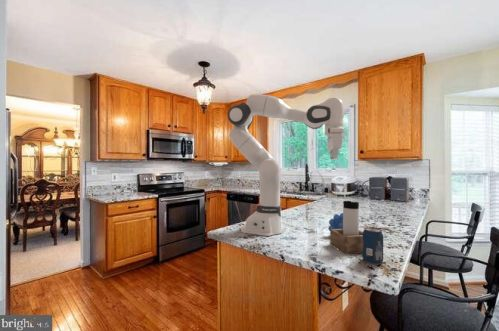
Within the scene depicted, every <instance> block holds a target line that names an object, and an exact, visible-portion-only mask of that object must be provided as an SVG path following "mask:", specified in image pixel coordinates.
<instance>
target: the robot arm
mask: <svg viewBox="0 0 499 331" xmlns="http://www.w3.org/2000/svg"><path fill="white" fill-rule="evenodd" d="M344 108H345V107H344V103H343V101H342V100H341V99H339V98H335V97H330V98H326V100H325V101H323V102H321V103H318V104H314V105H312V106H310V107H309V108H308V109H307V111H304V110H301V109H297V108H292V107H290V106H289V105H287V104H286V103H285V102H284V101H283V100H282V99H281V98H279V97H276V96H274V95H269V94H260V93H259V94H258V93H254V94H250V95H249V96H248V97H247V99H246V102H242V103H238V104H236V105H235V104H234V105H233V106H231V107H230V108H229V110H228V111H227V119H228V121H229V123H230V124H232V125H233V126H232V128H231V130H230V131H229V133H228V137H229V139H230V141H231V143H232V144H233V145H234V147H235V148H236V150H238V151H239V153H240V154H241V155H242V156H243V157H244V158H245V159H246V161H248V162H249V163H250V164H251V165H252V166H253V167H255V169H256V170H257V171H258V176H259V203H257V204H256V205H255V211H254V212H253V213H252V214H251V215H249V216H248V217H247V218H246V219H245V224H244V225H243V226H242V227H241V228H240V232H241V233H243V234H250V235H258V236H265V237H270V236H274V235H279V234H282V233H283V232H284V230H283V227H282V221H281V218H282V217H281V215H282V205H281V174H282V173H281V165H280V163H279V161H278V160H276V159H275V158H274V157H273V155H271V154H270V153H269V152H268V150H267V149H265V147H264V146H263V145H262V144H261V143H260V142H259V141H258V140H257V139H256V138H255V137H254V135H252V134H251V133H250V131H249V129H250V127H251V125H252V124H253V121H254V116H261V117H266V118H272V119H273V118H274V119H284V120H289V121H293V122H298V123H301V124H304V125H306V126H307V127H308V128H310V129H312V130H318V129H320V128H321V127H323V126H324V136H326V137H327V138H326V139H327V152H329V159H330V160H338V158H339V156H338V155H339V149H342V147H343V138H344V137H343V136H344V133H345V128H344V127H345V126H344V124H345V123H344V116H345V111H344V110H345V109H344Z"/></svg>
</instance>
